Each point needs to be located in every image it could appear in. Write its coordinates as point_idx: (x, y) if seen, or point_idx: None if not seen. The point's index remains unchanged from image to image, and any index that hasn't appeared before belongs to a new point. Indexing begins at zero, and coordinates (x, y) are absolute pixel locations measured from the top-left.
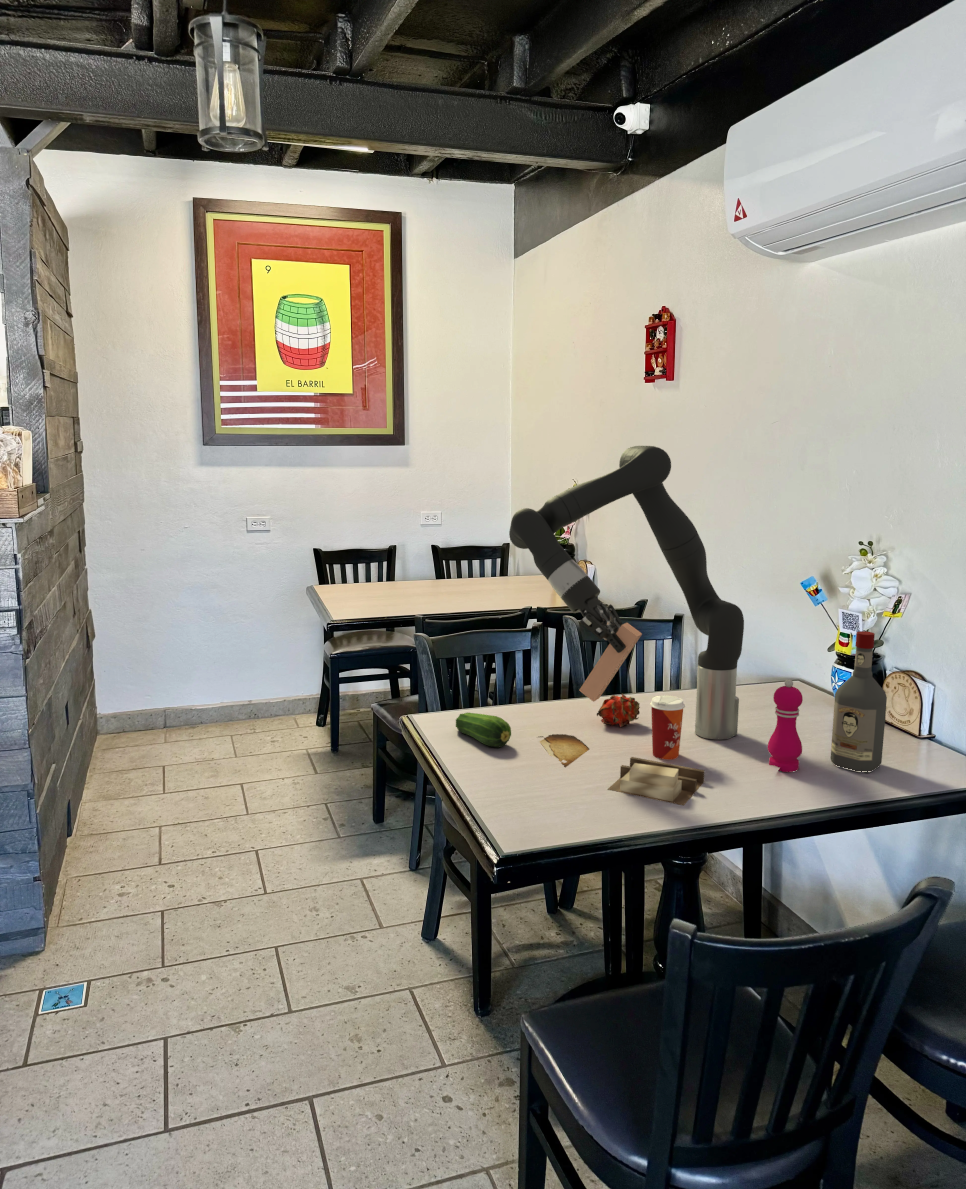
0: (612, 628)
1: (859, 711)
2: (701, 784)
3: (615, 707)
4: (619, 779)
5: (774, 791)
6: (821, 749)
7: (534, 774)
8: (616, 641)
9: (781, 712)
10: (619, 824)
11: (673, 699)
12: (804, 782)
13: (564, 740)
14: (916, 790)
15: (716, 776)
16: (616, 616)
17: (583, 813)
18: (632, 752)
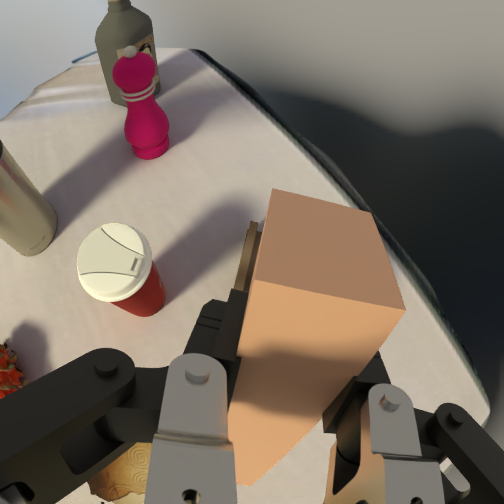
0: (150, 442)
1: (150, 37)
2: (261, 232)
3: (6, 383)
4: None
5: (237, 155)
6: (90, 118)
7: (284, 491)
8: (379, 360)
9: (149, 89)
10: (411, 325)
11: (105, 243)
12: (198, 128)
13: (112, 471)
14: (198, 64)
15: (202, 218)
16: (44, 421)
17: (399, 378)
18: (125, 353)
